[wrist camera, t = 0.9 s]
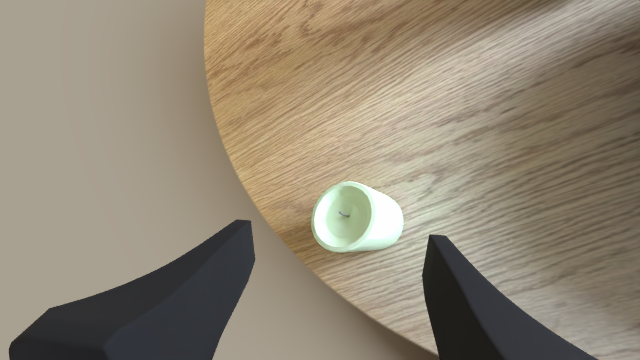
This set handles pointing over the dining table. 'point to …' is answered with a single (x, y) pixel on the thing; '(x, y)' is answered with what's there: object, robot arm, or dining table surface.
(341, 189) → the candle
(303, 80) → the dining table surface
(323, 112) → the dining table surface
